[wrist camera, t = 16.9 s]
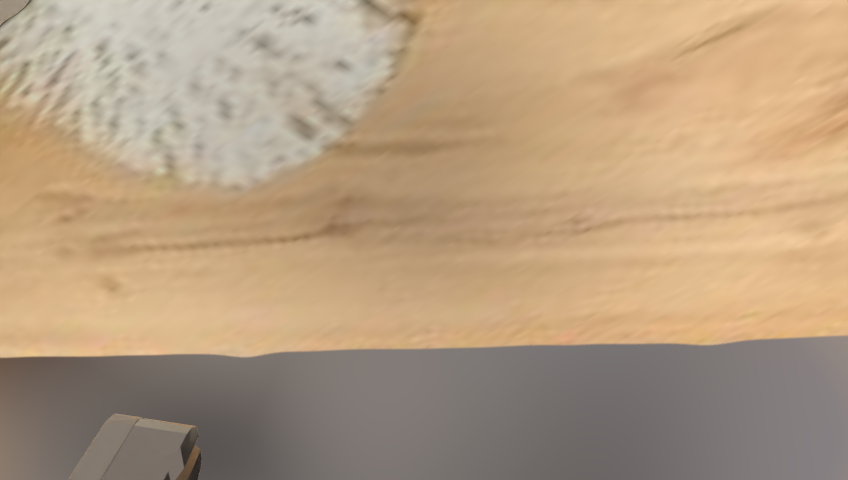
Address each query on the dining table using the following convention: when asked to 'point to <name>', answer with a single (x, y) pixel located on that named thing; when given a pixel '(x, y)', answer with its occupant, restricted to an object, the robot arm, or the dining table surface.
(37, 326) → the dining table surface
